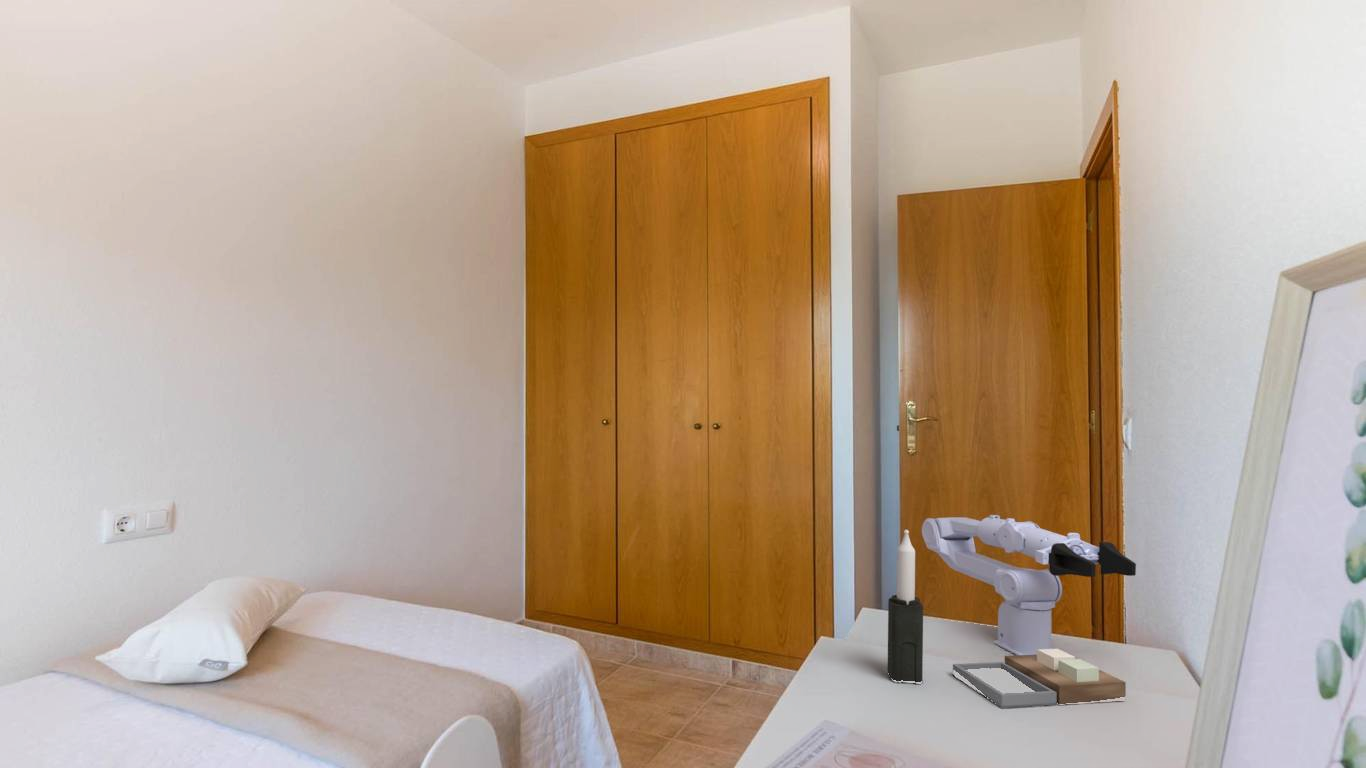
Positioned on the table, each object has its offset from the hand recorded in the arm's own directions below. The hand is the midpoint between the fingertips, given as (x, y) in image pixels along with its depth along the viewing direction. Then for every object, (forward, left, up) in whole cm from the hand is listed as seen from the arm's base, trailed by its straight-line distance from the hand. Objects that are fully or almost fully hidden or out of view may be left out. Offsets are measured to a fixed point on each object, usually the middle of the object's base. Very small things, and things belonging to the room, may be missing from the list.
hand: (1113, 570), depth 110 cm
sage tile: (-1, -6, -17) cm, 18 cm away
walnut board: (-4, -6, -20) cm, 21 cm away
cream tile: (-6, -6, -17) cm, 19 cm away
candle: (-11, -31, -20) cm, 39 cm away
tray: (-4, -17, -20) cm, 27 cm away
